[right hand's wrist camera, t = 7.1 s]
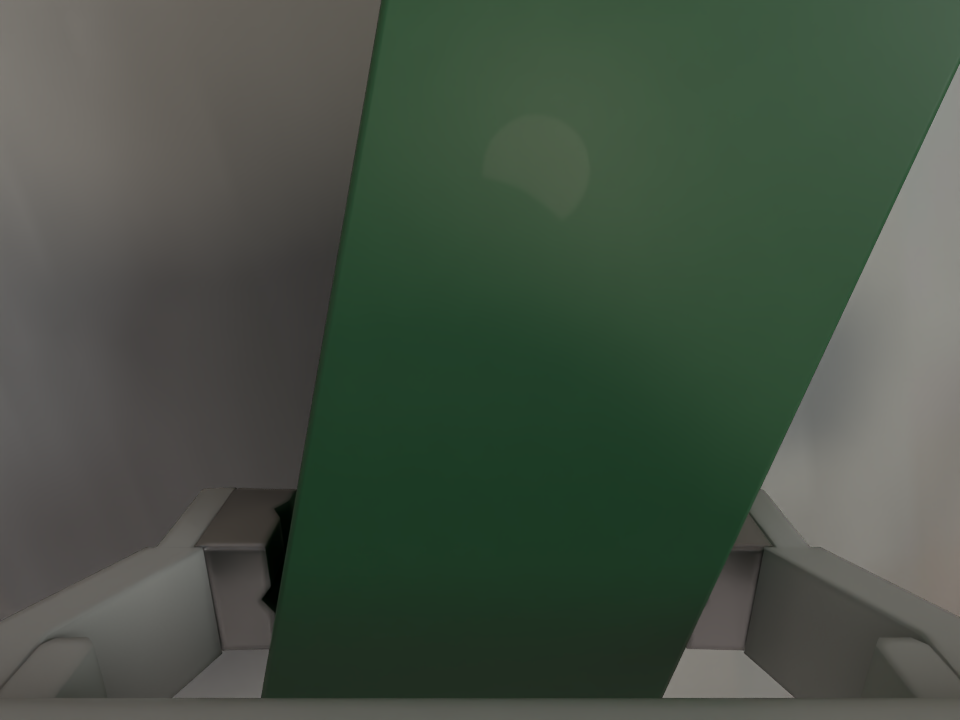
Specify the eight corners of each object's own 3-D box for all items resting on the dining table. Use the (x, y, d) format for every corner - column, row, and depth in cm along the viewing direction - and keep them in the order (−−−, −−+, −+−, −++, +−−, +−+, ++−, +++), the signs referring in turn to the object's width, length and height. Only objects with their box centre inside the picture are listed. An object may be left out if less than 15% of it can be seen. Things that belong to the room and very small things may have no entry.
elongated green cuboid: (520, -329, 11) (610, -1350, 3) (807, -231, 11) (1442, -943, 4) (346, 509, 16) (239, 809, 9) (540, 550, 17) (586, 867, 9)
